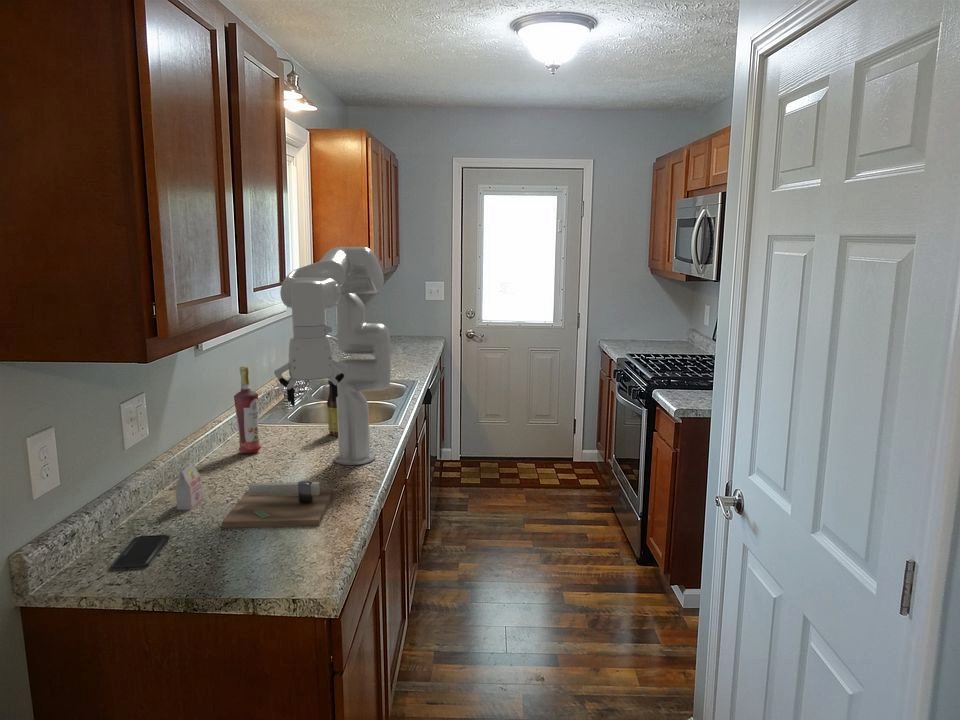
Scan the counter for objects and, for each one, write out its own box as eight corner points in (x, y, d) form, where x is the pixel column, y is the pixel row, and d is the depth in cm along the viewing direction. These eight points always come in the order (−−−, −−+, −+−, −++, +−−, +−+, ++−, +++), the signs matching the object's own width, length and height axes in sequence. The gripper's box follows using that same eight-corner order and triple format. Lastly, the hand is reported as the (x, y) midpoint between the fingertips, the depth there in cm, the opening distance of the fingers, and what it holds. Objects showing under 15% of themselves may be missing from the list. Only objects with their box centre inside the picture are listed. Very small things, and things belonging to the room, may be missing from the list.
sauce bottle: (339, 430, 244) (336, 376, 240) (350, 433, 240) (348, 378, 236) (324, 434, 239) (321, 379, 235) (336, 437, 235) (333, 381, 231)
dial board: (248, 494, 183) (247, 488, 183) (334, 493, 184) (334, 487, 184) (222, 527, 163) (221, 521, 162) (319, 525, 163) (318, 518, 163)
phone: (170, 534, 157) (147, 564, 143) (171, 539, 158) (148, 569, 143) (134, 536, 157) (107, 567, 142) (135, 541, 157) (108, 572, 142)
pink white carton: (177, 509, 174) (173, 472, 172) (189, 499, 180) (186, 463, 179) (191, 509, 174) (187, 472, 172) (203, 499, 180) (200, 463, 178)
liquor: (251, 456, 215) (245, 370, 210) (233, 454, 218) (226, 368, 213) (266, 450, 222) (261, 365, 217) (248, 447, 224) (242, 364, 219)
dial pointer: (321, 497, 176) (320, 480, 175) (318, 502, 173) (317, 485, 172) (252, 498, 175) (251, 481, 175) (248, 504, 172) (247, 486, 171)
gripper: (343, 328, 169) (346, 396, 172) (270, 332, 162) (274, 402, 165) (348, 332, 162) (351, 402, 165) (273, 336, 155) (277, 409, 158)
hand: (313, 402), depth 165 cm, fingers open, 9 cm apart
